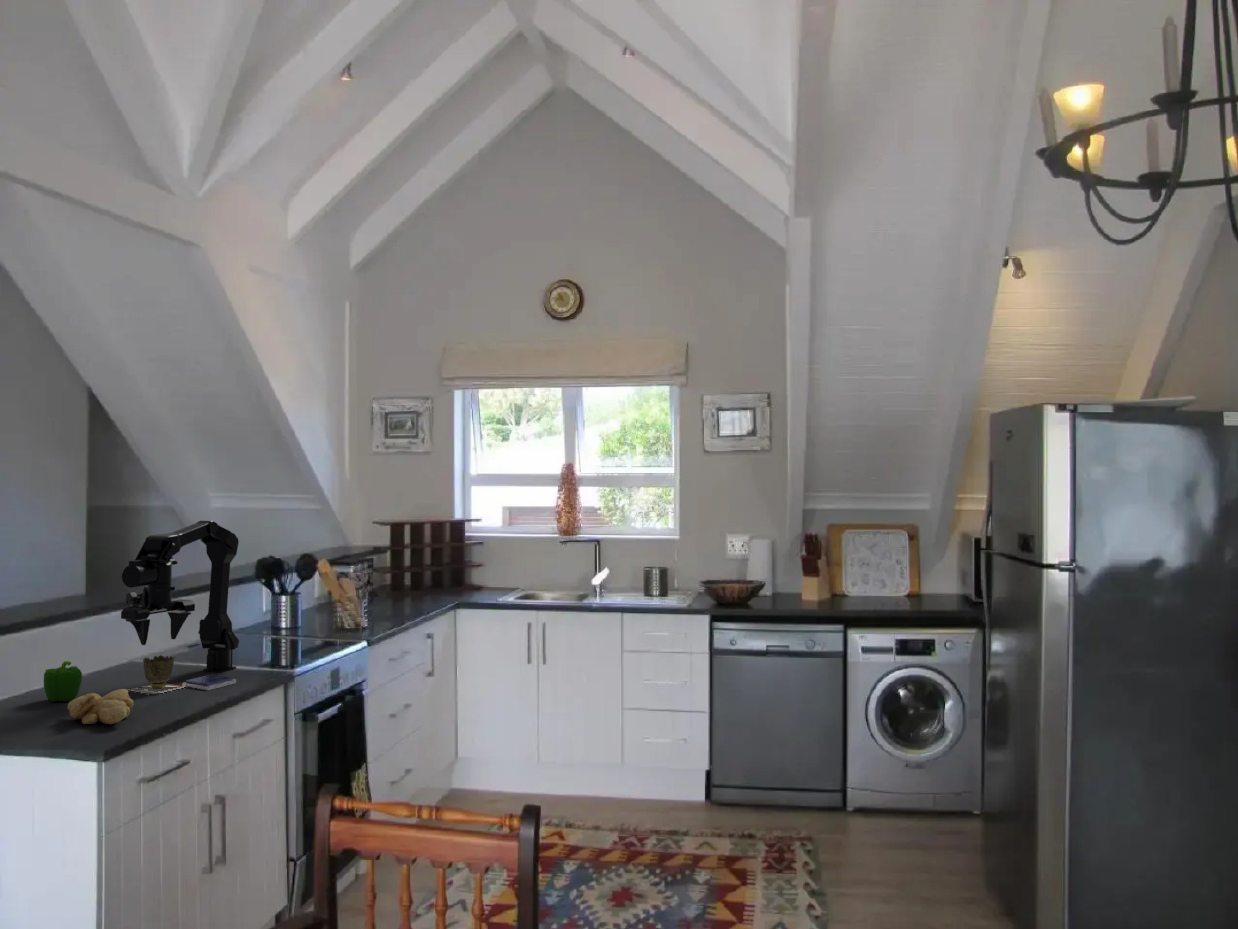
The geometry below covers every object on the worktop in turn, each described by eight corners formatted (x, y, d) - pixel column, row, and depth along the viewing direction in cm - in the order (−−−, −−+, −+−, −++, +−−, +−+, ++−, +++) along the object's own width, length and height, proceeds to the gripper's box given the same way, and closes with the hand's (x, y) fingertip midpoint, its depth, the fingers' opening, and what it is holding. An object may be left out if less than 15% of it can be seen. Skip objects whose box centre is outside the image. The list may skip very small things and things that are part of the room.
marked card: (159, 683, 257) (159, 682, 257) (186, 687, 253) (186, 686, 253) (127, 691, 249) (127, 689, 249) (155, 695, 245) (155, 694, 245)
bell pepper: (40, 699, 239) (41, 659, 239) (77, 694, 244) (78, 655, 244) (46, 706, 232) (47, 665, 232) (84, 701, 238) (85, 661, 238)
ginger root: (78, 706, 228) (86, 673, 228) (144, 721, 229) (153, 689, 229) (43, 726, 213) (52, 691, 212) (114, 743, 214) (123, 708, 214)
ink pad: (211, 679, 263) (211, 673, 263) (236, 683, 260) (236, 677, 260) (182, 686, 255) (182, 680, 255) (207, 690, 251) (207, 684, 251)
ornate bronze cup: (165, 683, 256) (166, 653, 256) (179, 688, 252) (179, 657, 252) (137, 688, 251) (138, 657, 251) (150, 693, 246) (151, 662, 246)
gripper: (167, 577, 263) (166, 633, 263) (106, 584, 246) (105, 645, 246) (196, 580, 259) (195, 637, 259) (136, 587, 242) (135, 649, 242)
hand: (158, 642), depth 252 cm, fingers open, 9 cm apart
